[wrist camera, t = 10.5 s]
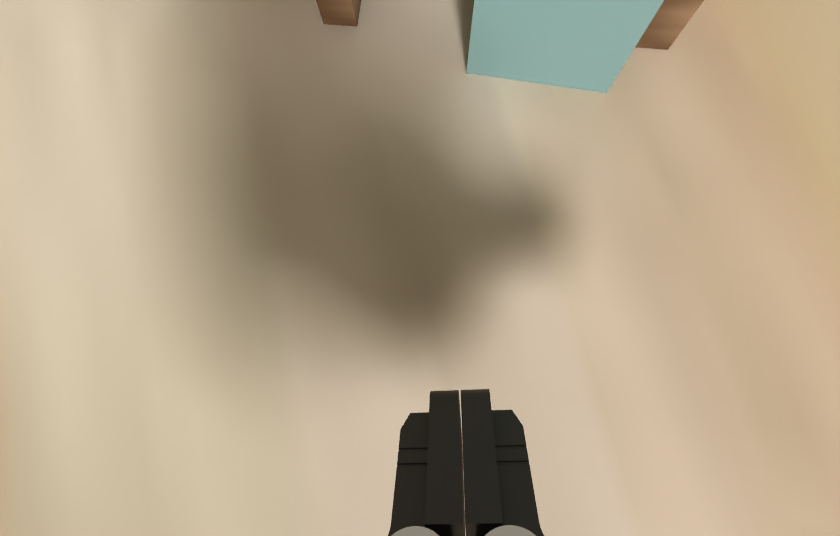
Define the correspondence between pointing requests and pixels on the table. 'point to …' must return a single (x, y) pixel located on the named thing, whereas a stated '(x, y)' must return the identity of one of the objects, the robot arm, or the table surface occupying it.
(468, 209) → the table surface
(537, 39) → the block
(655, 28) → the brown u-shaped block
